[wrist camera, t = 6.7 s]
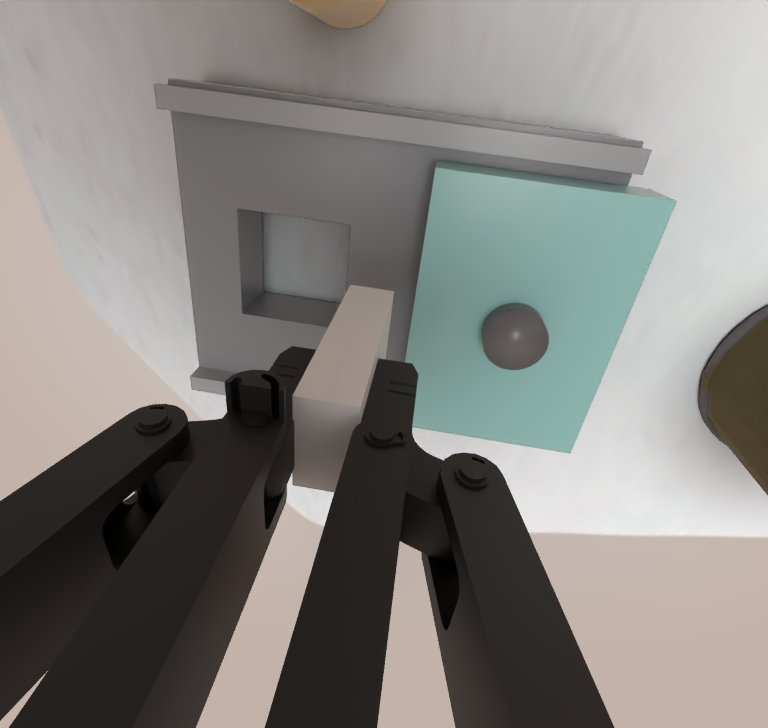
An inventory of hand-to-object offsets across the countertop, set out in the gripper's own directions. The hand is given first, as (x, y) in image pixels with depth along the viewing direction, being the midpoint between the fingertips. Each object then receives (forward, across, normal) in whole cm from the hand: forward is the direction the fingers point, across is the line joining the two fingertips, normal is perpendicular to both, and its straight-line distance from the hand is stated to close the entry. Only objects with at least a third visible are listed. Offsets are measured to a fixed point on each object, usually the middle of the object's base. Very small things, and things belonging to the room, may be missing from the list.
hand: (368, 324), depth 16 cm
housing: (+8, 0, -1) cm, 8 cm away
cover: (+5, +5, -1) cm, 7 cm away
